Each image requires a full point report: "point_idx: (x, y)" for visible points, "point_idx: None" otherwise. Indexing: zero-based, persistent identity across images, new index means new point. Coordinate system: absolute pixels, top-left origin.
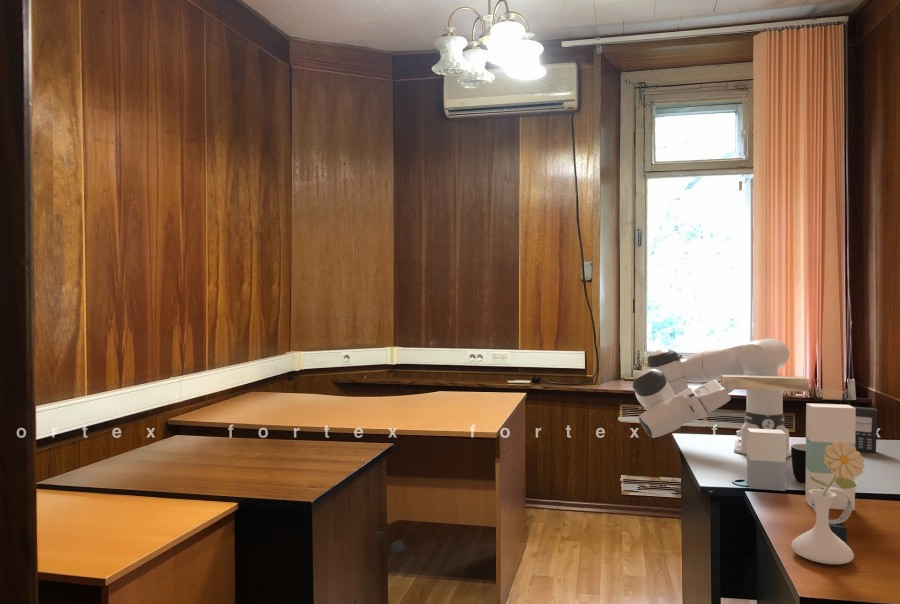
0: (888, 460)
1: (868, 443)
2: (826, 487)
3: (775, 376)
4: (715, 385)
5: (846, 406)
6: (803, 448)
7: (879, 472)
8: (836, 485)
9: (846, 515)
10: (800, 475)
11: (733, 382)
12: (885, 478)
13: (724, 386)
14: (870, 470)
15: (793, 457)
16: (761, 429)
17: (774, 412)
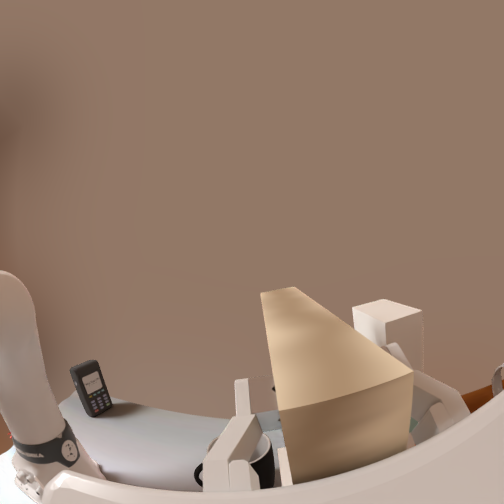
0: (139, 406)
1: (105, 399)
2: None
3: (264, 305)
4: (399, 496)
5: (373, 304)
6: None
7: (185, 421)
8: None
9: (501, 384)
10: (267, 488)
11: (409, 367)
12: (212, 421)
13: (454, 413)
14: (177, 425)
15: None
16: (291, 482)
17: (62, 423)
